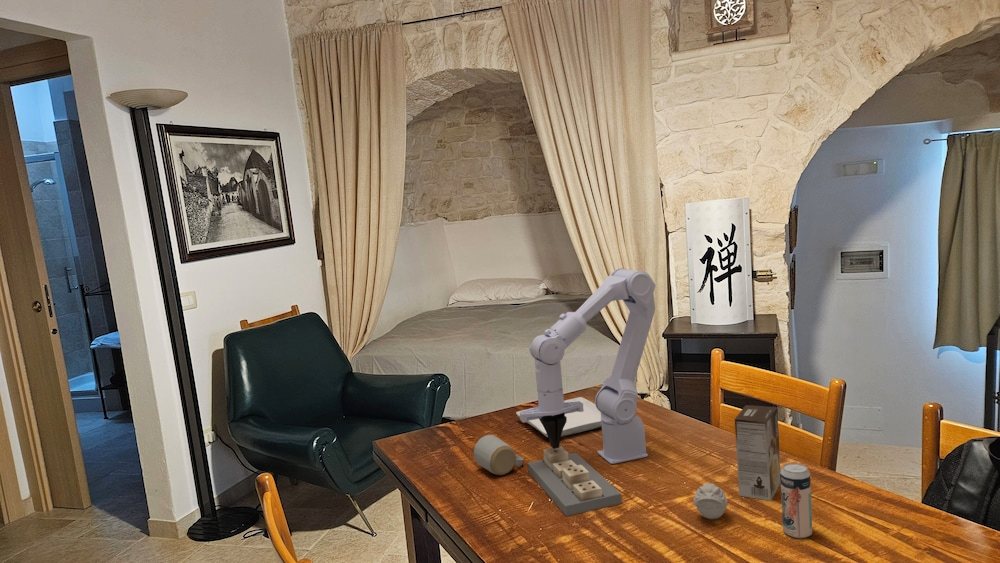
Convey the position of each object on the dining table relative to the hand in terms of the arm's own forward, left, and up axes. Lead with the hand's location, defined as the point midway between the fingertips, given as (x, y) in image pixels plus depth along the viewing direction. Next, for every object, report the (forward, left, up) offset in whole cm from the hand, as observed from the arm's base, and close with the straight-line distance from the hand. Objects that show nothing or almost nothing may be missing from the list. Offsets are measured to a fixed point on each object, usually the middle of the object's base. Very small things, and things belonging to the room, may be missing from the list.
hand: (554, 446), depth 154 cm
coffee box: (-33, +28, -6) cm, 44 cm away
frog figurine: (-18, +34, -6) cm, 39 cm away
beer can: (-28, +45, -6) cm, 53 cm away
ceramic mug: (+11, -8, -6) cm, 15 cm away
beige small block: (0, +12, -4) cm, 13 cm away
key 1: (0, 0, -4) cm, 4 cm away
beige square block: (0, +18, -5) cm, 19 cm away
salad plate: (-13, -28, -6) cm, 32 cm away
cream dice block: (0, +6, -5) cm, 8 cm away
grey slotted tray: (0, +9, -6) cm, 11 cm away
